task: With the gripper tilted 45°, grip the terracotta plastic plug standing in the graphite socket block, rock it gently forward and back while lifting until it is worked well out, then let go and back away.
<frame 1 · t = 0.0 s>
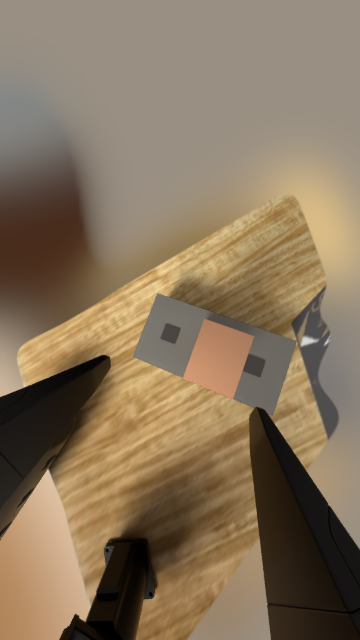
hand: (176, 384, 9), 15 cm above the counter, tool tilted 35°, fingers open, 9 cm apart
muzzle brake: (27, 471, 25), on the counter
socket block: (207, 346, 23), on the counter
plug: (211, 350, 17), point 6 cm above the counter, slide at 0.0 cm
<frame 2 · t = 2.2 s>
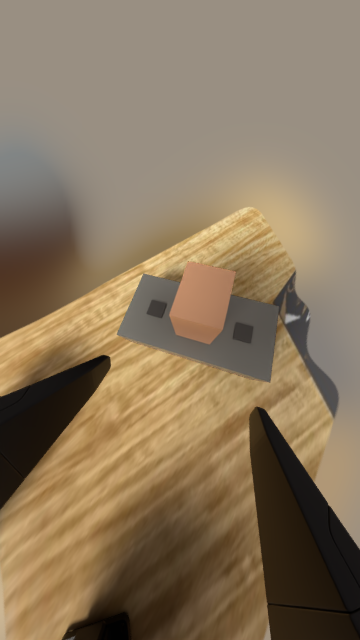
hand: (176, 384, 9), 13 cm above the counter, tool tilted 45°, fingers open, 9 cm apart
socket block: (195, 330, 23), on the counter
plug: (198, 316, 17), point 6 cm above the counter, slide at 0.0 cm
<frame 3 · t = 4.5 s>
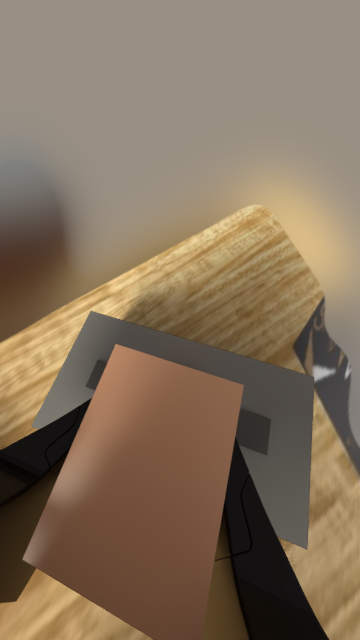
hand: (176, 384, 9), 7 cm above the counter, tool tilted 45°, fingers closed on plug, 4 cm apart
socket block: (177, 390, 15), on the counter
plug: (170, 406, 9), point 6 cm above the counter, slide at 0.0 cm, touching gripper
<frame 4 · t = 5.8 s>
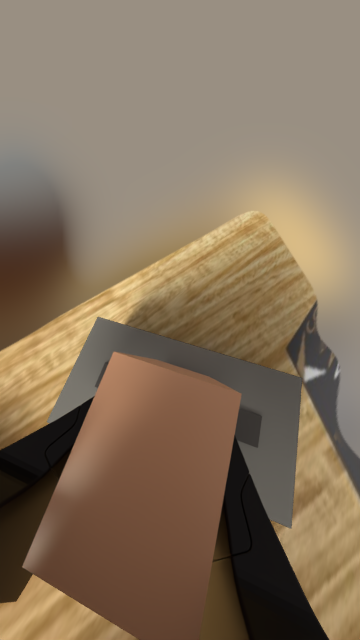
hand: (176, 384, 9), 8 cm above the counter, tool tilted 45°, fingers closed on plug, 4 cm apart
socket block: (178, 390, 16), on the counter
plug: (169, 409, 9), point 8 cm above the counter, slide at 1.1 cm, touching gripper
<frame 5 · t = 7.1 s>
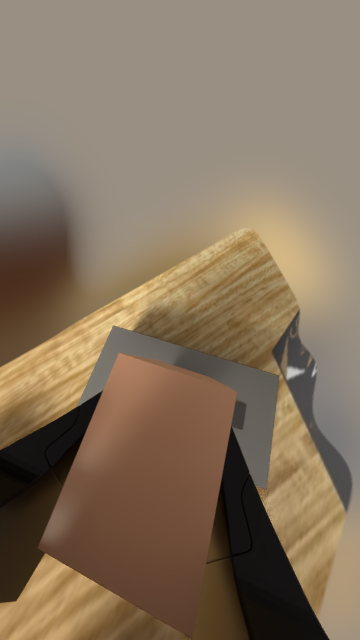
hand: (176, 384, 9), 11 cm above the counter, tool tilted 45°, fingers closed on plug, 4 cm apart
socket block: (179, 386, 19), on the counter
plug: (170, 408, 9), point 10 cm above the counter, slide at 3.8 cm, touching gripper
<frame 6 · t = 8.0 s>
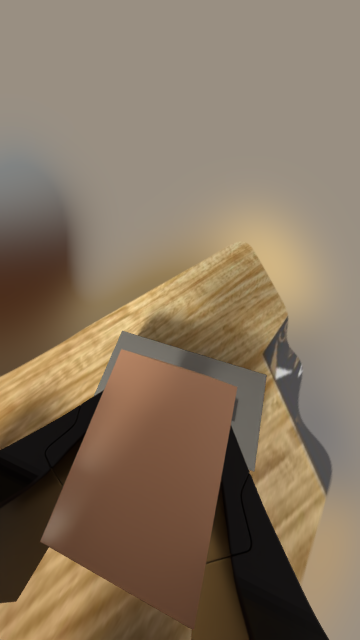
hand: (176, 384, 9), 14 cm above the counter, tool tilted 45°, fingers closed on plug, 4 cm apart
socket block: (180, 385, 21), on the counter
plug: (170, 407, 9), point 13 cm above the counter, slide at 6.1 cm, touching gripper
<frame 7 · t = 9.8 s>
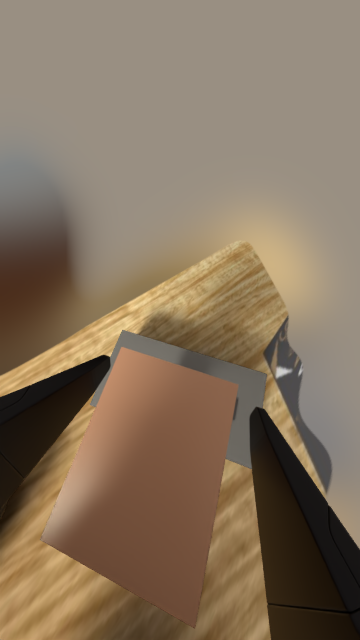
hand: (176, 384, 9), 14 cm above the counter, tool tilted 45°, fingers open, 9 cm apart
socket block: (180, 384, 21), on the counter
plug: (171, 405, 9), point 13 cm above the counter, slide at 6.1 cm
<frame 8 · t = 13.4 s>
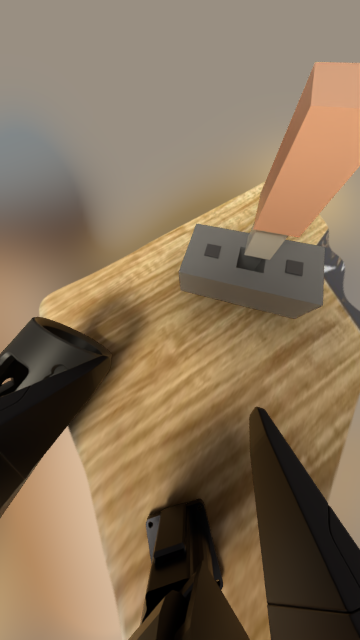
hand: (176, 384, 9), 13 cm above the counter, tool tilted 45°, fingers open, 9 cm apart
muzzle brake: (38, 436, 20), on the counter
socket block: (239, 280, 25), on the counter
plug: (287, 198, 13), point 13 cm above the counter, slide at 6.1 cm
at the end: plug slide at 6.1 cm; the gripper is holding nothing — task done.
